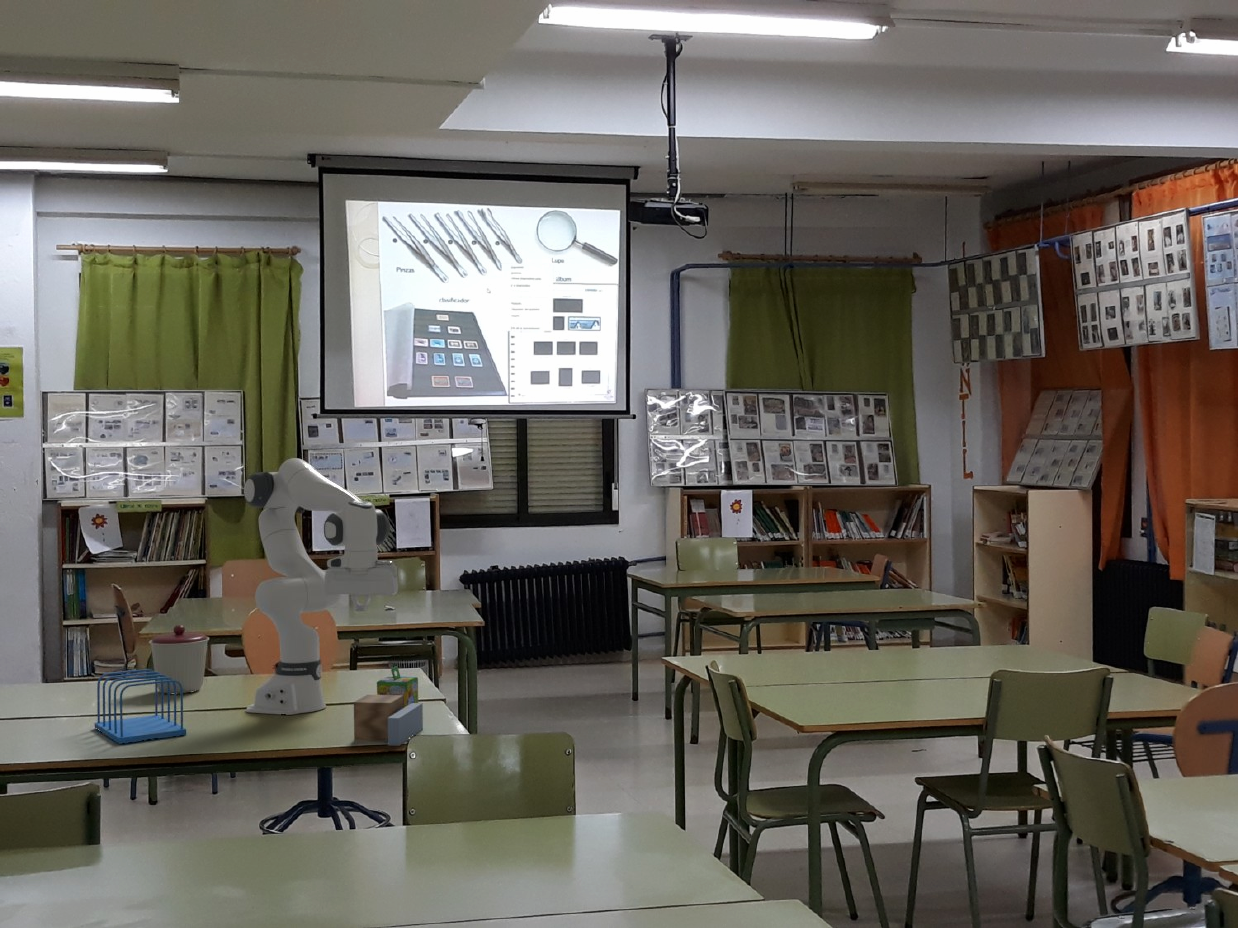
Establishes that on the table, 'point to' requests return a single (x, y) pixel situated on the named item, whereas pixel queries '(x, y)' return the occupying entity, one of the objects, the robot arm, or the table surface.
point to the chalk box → (399, 687)
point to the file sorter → (139, 726)
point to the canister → (180, 659)
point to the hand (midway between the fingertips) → (361, 611)
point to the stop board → (405, 724)
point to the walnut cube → (375, 716)
